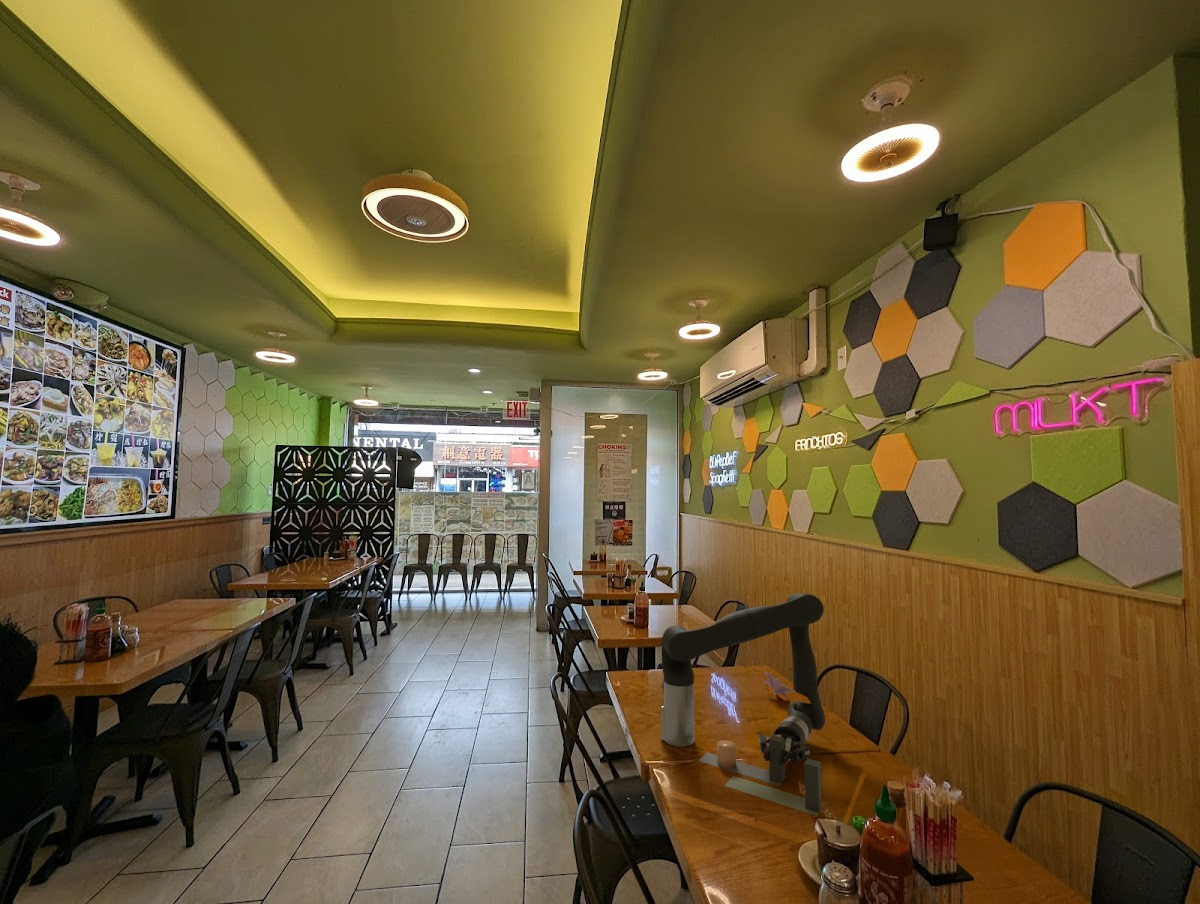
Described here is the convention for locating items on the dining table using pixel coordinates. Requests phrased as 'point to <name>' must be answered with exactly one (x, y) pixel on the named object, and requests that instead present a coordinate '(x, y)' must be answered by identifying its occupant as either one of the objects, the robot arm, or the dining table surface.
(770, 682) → the lily
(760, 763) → the dining table surface
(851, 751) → the dining table surface
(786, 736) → the robot arm
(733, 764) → the tan round cylinder
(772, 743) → the grey l-shaped bracket
